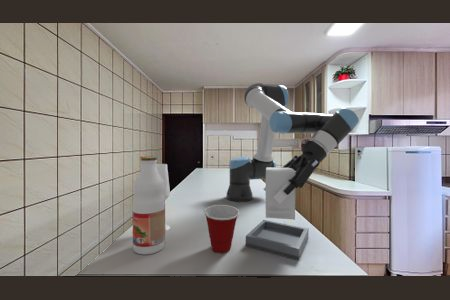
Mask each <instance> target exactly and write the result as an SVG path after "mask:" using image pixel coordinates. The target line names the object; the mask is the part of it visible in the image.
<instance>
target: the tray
mask: <svg viewBox="0 0 450 300" xmlns="http://www.w3.org/2000/svg"><path fill="white" fill-rule="evenodd" d="M308 240H309V228H308V227H307V228H306V227H301V226H297V225H291V224H287V223H282V222H277V221H271V220H266V219H263V220H262V221H261V222H259V224H257V225H256V226H255V227H254V228H253V229H252V230H250V232H248V233H247V234H246V235H245V247H249V248H252V249H255V250H258V251H259V250H260V251H263V252H266V253H270V254H274V255H278V256H280V257H281V256H282V257H285V258H287V259H288V258H289V259H292V260H296V261H300V258H301V256H302V254H303V252H304V250H305V246H306V244H307V242H308Z"/></svg>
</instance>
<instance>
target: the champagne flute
mask: <svg viewBox="0 0 450 300" xmlns="http://www.w3.org/2000/svg"><path fill="white" fill-rule="evenodd" d="M156 167H157V170H158V173H159V175H160V176H161V178H162V179H163V180H164V184H165V187H164V191H163V196H164V198H165V201H167V199H168V198H169V197H170V195H171V191H170V182H169V181H170V180H169V172H168V171H169V170H168V164H167V163H156ZM170 229H171V227H170V225H168V224H166V223H165V232H166V231H168V230H170Z"/></svg>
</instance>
